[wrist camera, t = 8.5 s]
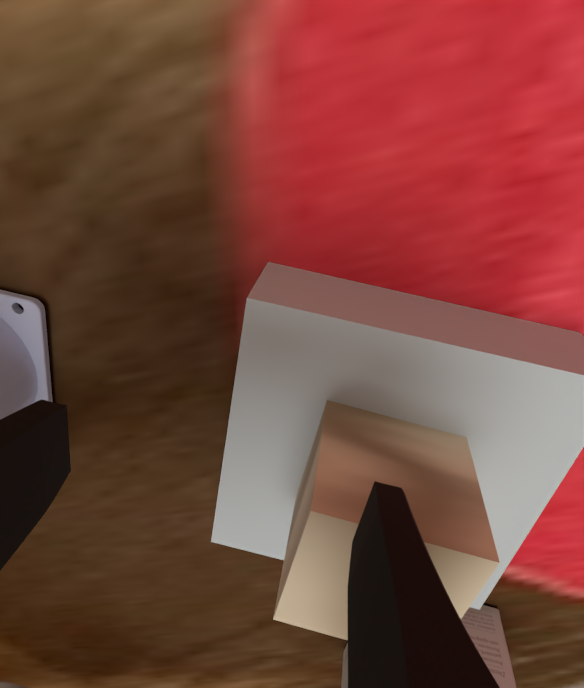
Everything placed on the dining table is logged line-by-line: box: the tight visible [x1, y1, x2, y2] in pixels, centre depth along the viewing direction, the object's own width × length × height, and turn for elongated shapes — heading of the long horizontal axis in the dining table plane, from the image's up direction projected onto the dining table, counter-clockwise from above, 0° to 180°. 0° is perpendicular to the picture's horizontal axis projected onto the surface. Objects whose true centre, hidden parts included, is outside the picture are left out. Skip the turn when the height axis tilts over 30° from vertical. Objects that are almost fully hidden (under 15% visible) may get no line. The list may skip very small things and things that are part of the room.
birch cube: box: [273, 400, 500, 640], centre depth 16 cm, size 5×5×5 cm
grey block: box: [211, 262, 584, 610], centre depth 20 cm, size 12×12×4 cm
